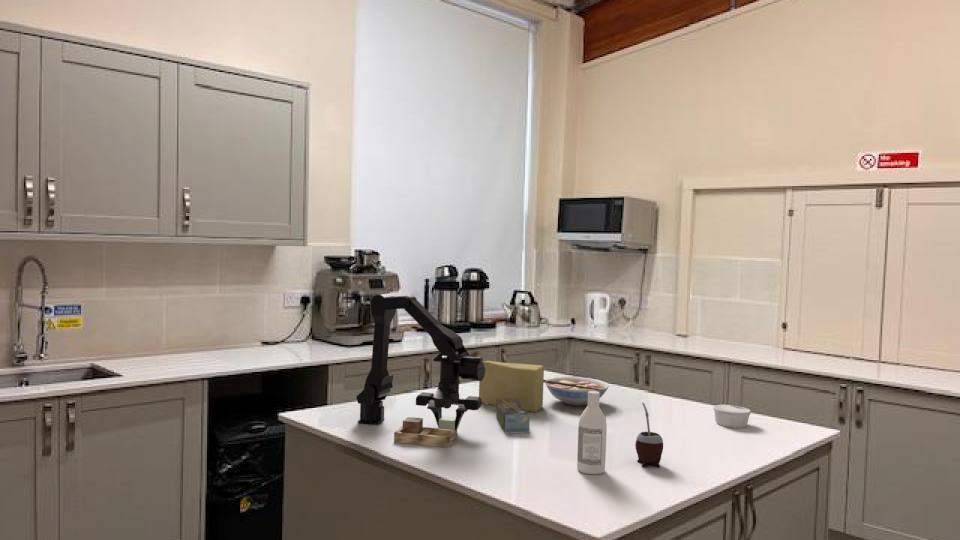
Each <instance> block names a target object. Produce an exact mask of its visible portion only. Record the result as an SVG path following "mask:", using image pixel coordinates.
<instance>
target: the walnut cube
mask: <svg viewBox="0 0 960 540" xmlns="http://www.w3.org/2000/svg"><path fill="white" fill-rule="evenodd" d="M423 424H424V418H423V417H422V418H421V417H415V416H414V417H413V416H412V417H411V416H408V417H406V418H405V419H404V420H402V426H403V430H402V432H405V433H415V434H420V433H421V432H422V431H423V427H424V425H423Z"/></svg>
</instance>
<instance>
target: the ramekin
mask: <svg viewBox="0 0 960 540" xmlns="http://www.w3.org/2000/svg"><path fill="white" fill-rule="evenodd" d="M713 411H714V419H715V420H714V421H715V423H716V424H717V425H719V426H722V427H725V428H731V429H744V428H745V427H746V426H747V425H748V424H749V420H750V415H751V410H750V409H749V408H747V407H743V406H739V405H733V404H717V405H714V406H713Z"/></svg>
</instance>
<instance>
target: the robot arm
mask: <svg viewBox="0 0 960 540" xmlns="http://www.w3.org/2000/svg"><path fill="white" fill-rule="evenodd" d="M369 305H370V315H371V317H372V320H373V322H374V327H373V328H374V329H373V339H372V351H371V352H372V354H371V363H370V364H371V366H370V370H369V372H368V374H367V376H366V379H365V382H364V386H363V390H362V391H361V392H359V393H358V394H357V396H356V401H357V403H358V404H360V405H359V406H360V407H359V408H360V410H359V419H358V420H357V423H359V424H369V425H378V424H381V422H383V421H384V420H385V405H384V403H383V402H384V401H385V400H386V398H387V396H388V394H390V393H391V389H393V388H394V386H393V380H394V374H390V373H389V371H388V361H389V360H388V357H389V347H390V346H389V345H390V333H391V332H390V331H391V324H392V321H393V319H394V317H395V315H396V312H397V310H401V309H402V310H404V311H405V312H406V313H407V314H408V315H409V316H410V317H411V318H412V319H413V320H414V321H415V322H416V323H417V324H418V325H419V326H420V327H421V328H422V329H423V330H424V331H425V332H426V333H427V334H428V335H429V337H430V338H431V340H432V344H433V345H434V347H435V348H436V349H437V351H438V352H439V353H438V354H437V356H436V357H434V358H433V362H437V363H439V381H438V384H437V386H438V387H437V389H436V391H435V393H434V392H424V391H423V392H421V393H420V394H418V395H417V396H416V398H415V406H421V407H426V406H427V407H426V408H427V409H428V410H430V411H431V412H432V414H433V416H434V419H435V422H436V425H437V428H439V419H440V418H441V417H442V416H443V413H442V411H443V409H450V408H451V407H452V405H455V406H457V407H458V408H456V409H455V417H456V420H455V430H457V431H458V429H459V426H460V423H461V422H462V419H463V416H464V414H465V413H466V412H468V411H478V410H480V408H481V407H482V400H481V398H480V397H479V396H473V395H469V396H467V397H466V398H460V392H459V391H460V383H461V382H460V381H461V380H467V381H476V382H479V381H482V380H483V378H484V375H485V366H484V363H483V362H484V361H483V357H481V356H476V357H475V356H471V355H470V353H469V352H468V349H466V347H465V345H464V343H463V342H464V340H463V338H462V337H461V336H460V335H459V334H458V333H456V332H455V331H453V330H452V329H450V328H448V327H445V326H444V325H443V324H441V323H440V322H439V321H438V320H437V319H436V317H434V316H433V315H432V313H431V312H429V311H428V309H427V308H426V307H424V305H423V304H422V303H420V302H419V300H417V297H415V295H413V294H412V295H411V294H410V295H403V296H395V295H393V294H392V293H384V294H383V293H382V294H375V295H374V296H373V297H372V298H371V300H370V304H369ZM460 378H461V379H460ZM442 408H443V409H442Z"/></svg>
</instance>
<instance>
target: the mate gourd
mask: <svg viewBox="0 0 960 540" xmlns="http://www.w3.org/2000/svg"><path fill="white" fill-rule="evenodd" d="M641 404H642V406H643V408H644V412H645V418H646V426H647V431H641V432H640V433H638V435H637V436H636V441H635V444H634V445H635V451H636V454H637V458H638V459H637V460H636V461H637V463H639V464H641V467H642V468H647V467H648V466H651V467H654V468H658V469H659V468H661V465H660V462H661V460H662V455H663V450H664V442H663V441H664V440H663V438H662V436H661V435H660V434H659V433H658V432H653V431H651V429H650V419H649V417H650V416H649V412H648V409H647V407H646V405H645V404H646V403H644V402H642V403H641Z"/></svg>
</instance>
